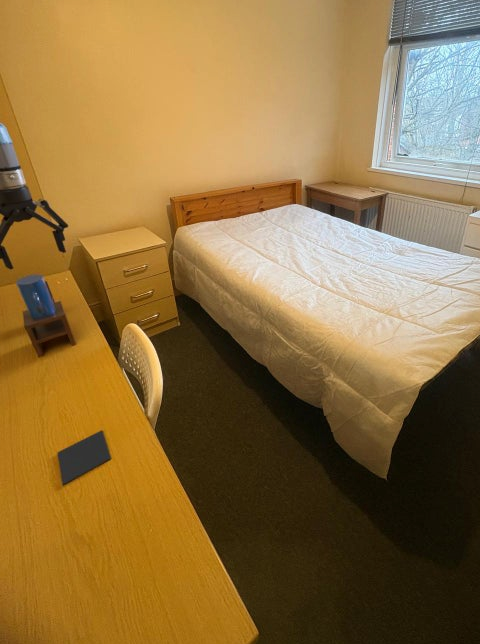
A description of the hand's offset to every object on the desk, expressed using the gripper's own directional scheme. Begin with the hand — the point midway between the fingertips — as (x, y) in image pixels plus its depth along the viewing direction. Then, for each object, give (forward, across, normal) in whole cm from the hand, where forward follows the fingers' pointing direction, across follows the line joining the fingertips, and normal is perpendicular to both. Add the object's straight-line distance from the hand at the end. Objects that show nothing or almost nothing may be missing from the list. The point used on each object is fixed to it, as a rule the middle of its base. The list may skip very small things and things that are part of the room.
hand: (37, 259), depth 94 cm
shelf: (+30, -3, +1) cm, 30 cm away
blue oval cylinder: (+18, -4, 0) cm, 18 cm away
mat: (+29, -20, -46) cm, 58 cm away
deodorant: (+30, +2, +16) cm, 34 cm away
